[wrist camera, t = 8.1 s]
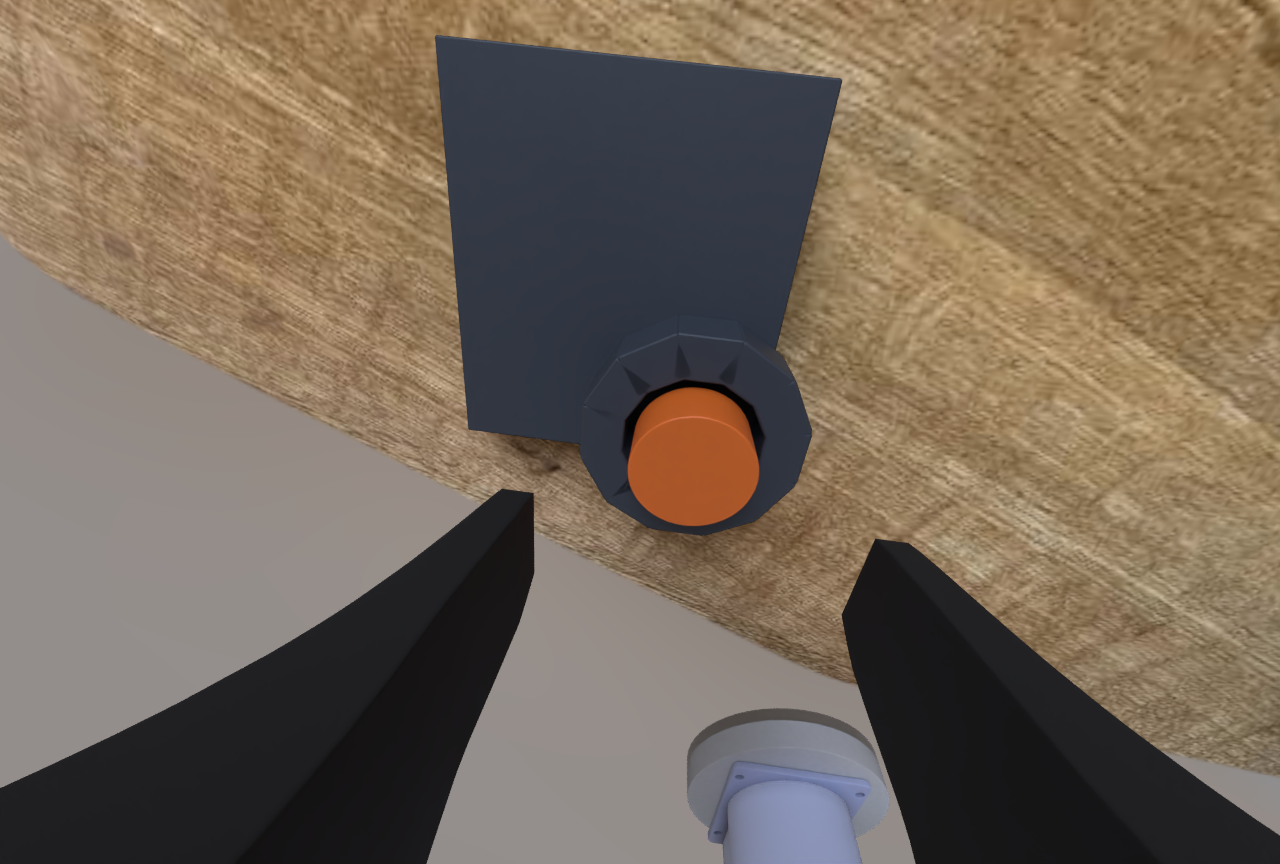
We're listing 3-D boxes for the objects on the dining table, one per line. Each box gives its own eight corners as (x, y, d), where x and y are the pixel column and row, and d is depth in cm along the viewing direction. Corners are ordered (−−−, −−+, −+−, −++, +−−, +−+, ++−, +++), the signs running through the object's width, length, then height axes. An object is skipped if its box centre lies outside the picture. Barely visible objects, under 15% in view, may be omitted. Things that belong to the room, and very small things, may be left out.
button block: (759, 473, 18) (778, 546, 14) (494, 438, 18) (448, 502, 14) (859, 98, 12) (930, 67, 9) (472, 55, 12) (389, 9, 9)
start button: (738, 494, 14) (744, 534, 12) (629, 480, 14) (622, 518, 12) (762, 394, 12) (773, 426, 11) (640, 379, 12) (633, 407, 11)
